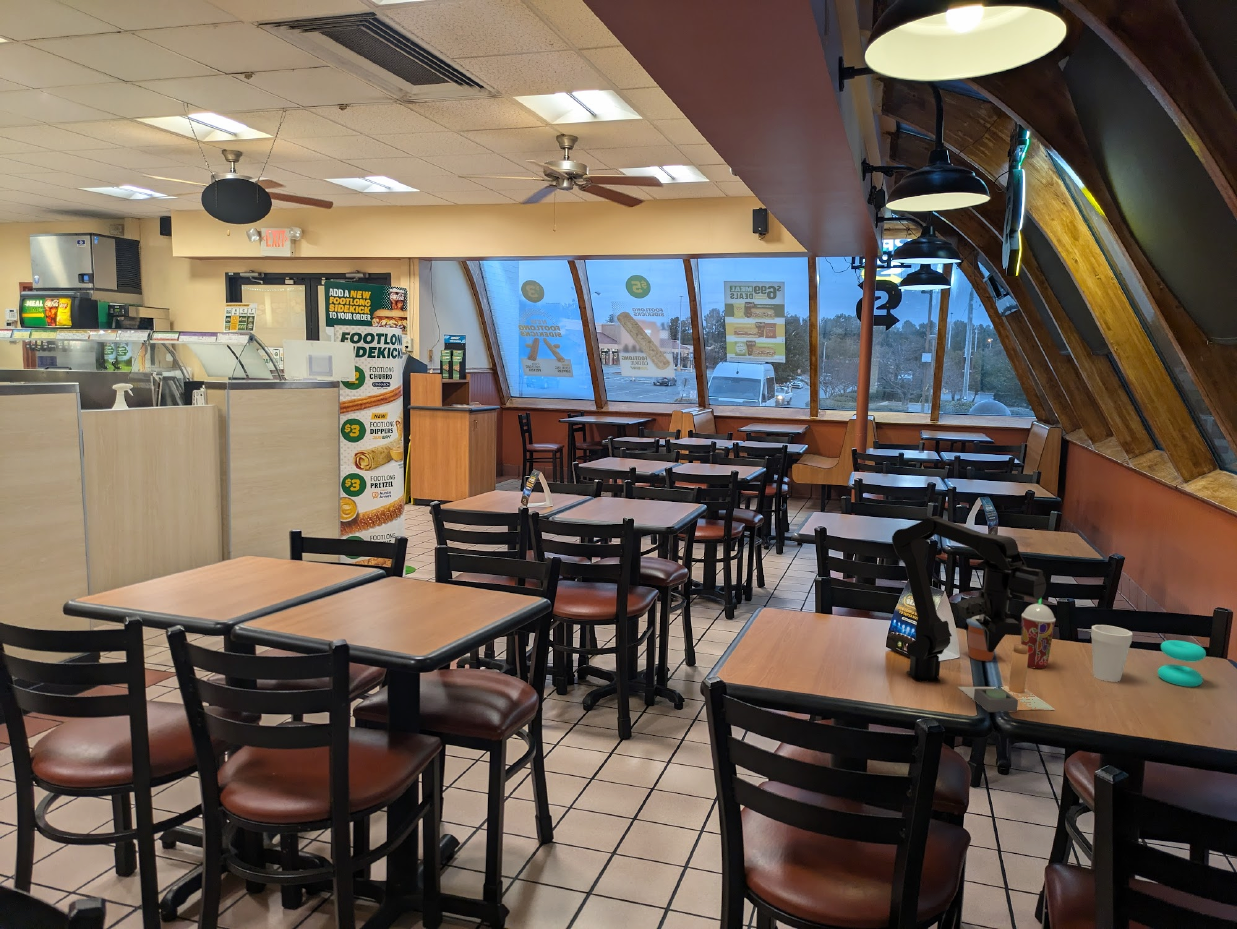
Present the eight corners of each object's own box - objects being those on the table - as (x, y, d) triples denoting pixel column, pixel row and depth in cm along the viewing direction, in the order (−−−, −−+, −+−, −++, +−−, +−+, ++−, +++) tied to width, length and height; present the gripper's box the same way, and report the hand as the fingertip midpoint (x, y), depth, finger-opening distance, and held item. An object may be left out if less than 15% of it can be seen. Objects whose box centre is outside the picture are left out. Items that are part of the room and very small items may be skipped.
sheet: (988, 712, 200) (989, 699, 200) (957, 687, 216) (958, 675, 215) (1057, 712, 202) (1058, 700, 201) (1021, 687, 217) (1022, 676, 217)
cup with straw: (995, 665, 233) (1001, 601, 231) (960, 658, 238) (966, 595, 236) (1000, 656, 241) (1006, 594, 239) (966, 649, 246) (972, 588, 244)
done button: (991, 707, 202) (992, 695, 201) (981, 700, 206) (982, 688, 206) (1008, 707, 202) (1010, 695, 202) (999, 700, 206) (1000, 688, 206)
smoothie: (1054, 672, 230) (1062, 599, 227) (1021, 668, 231) (1028, 596, 229) (1045, 661, 238) (1052, 591, 235) (1013, 658, 239) (1020, 589, 237)
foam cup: (1082, 677, 227) (1087, 629, 225) (1091, 668, 233) (1096, 622, 232) (1122, 687, 220) (1127, 638, 219) (1131, 678, 227) (1136, 631, 226)
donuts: (1165, 636, 232) (1209, 645, 226) (1161, 671, 233) (1205, 681, 227) (1157, 644, 225) (1203, 653, 218) (1153, 680, 226) (1198, 691, 219)
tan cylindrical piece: (1013, 693, 212) (1018, 648, 210) (1005, 687, 215) (1010, 643, 214) (1027, 693, 212) (1032, 648, 211) (1019, 687, 216) (1023, 643, 214)
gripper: (949, 577, 214) (942, 637, 216) (977, 598, 195) (970, 663, 197) (994, 579, 214) (987, 639, 216) (1027, 600, 195) (1019, 666, 197)
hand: (989, 651), depth 206 cm, fingers closed
